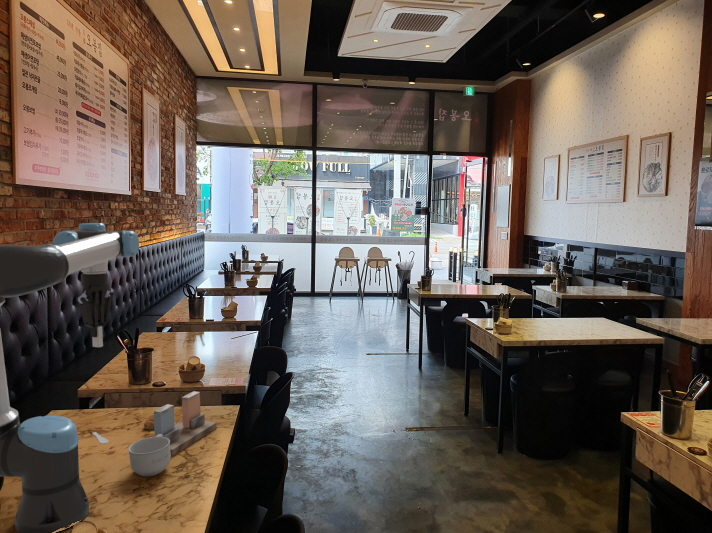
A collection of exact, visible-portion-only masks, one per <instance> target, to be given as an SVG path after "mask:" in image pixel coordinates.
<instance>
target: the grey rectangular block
mask: <svg viewBox="0 0 712 533" xmlns="http://www.w3.org/2000/svg"><path fill="white" fill-rule="evenodd" d="M153 415H154V429H153V430H154V436H155V437H156V436H157V435H158V434H162V435H163V436H164V435H166V434H168V433H169V432H171V431H173V430H175V427H174V424H175V405H174V404H169V403H168V404H165V405H162V406H161V407H159V408H157V409H155V410H153Z"/></svg>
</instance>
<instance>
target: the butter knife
mask: <svg viewBox="0 0 712 533" xmlns="http://www.w3.org/2000/svg"><path fill="white" fill-rule="evenodd" d="M92 435H94V437H95V438H96V440H97V442H98V443H99V444H101V445H105V444H108V443H109V442H110V441H109V440H108V439H107V438H105V437H103V436H101V435H100V434H99V433H98V432H96V431H94V432H93V431H92Z"/></svg>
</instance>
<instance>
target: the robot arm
mask: <svg viewBox="0 0 712 533" xmlns="http://www.w3.org/2000/svg"><path fill="white" fill-rule="evenodd" d="M139 250H140V239H139V236H138V234H137V233H136V232H135V231H132V230H124V229H123V230H106V225H105V224H104V223H103V222H102V223H101V222H100V223H99V222H95V223H94V222H89V223H87V222H86V223H83V222H82V223H80V224H79V225H78V229H77V230H75V229H74V230H69V229H67V230H64V231H60V232H58V233H56V234H55V236H54V238H53V240H52V244H51V243H45V244H44V243H43V244H39V245H21V244H20V245H19V244H18V245H17V244H16V245H15V244H0V307H2V306H3V304H4V303H5V302H6V298H15V297H19V296H24V295H27V294H31V293H35V292H38V291H40V290H44V289H46V288H49V287H52V286H55V285H57V284H60V283H61V282H63V281H64V280H65V279H66V278H67V277H68V276H69V275H73V274H75V273H77V272H82V273H81V274H80V280H81V282H80V283H81V285H82V287H83V290H82V294H81V295H80V296H76V297H75V301H76V302H77V303H78V306H79V309H80V312H81V317H82V321H83V324H84V327H85V326H86V327H89V328H90V337H91V339H92V348H102V347H104V341H103V340H104V338H103V337H104V330H105V328H104V327H105V326H107V323H109V321H110V315H111V308H112V300H113V298H114V295H115V293H114V291H110V290H109V289H108V287H107V285H108V284H109V274H108V272H107V271H109V269H108V261H110V260H114V259H116V258H120V257H122V258H123V257H124V258H128V257H134V256H136V255H137V254H138V252H139ZM2 339H3V338H2V331H1V329H0V478H1V477H2V478H3V477H4V478H5V477H6V478H7V477H8V478H20V479H21V488H22V493H21V496H20V497H21V498H20V499H19V500H20V501H19V504H18V509H17V511H16V513H15V516H14V527H15V531H16V532H17V533H52V532H54V531H56V530H58V529H60V528H63V527H66V526H68V525H71V524H72V523H75V522H77V521H80V520H82V521H83V520H84V519H86V517H87V516H88V514H89V513H90V501H89V498H88V496H87V493H86V491H85V488H84V486H83V484H82V482H81V479H80V463H79V437H78V431H77V425H76V424H75V422H74V421H73V420H71V419H70V418H68V417H66V416H61V415H44V416H41V415H39V416H35V417H31V418H27V419H26V420H24V421H23V422H20V415H19V411H18V410H17V409H15V408H13V407H11V406H10V405H11V404H10V397H9V388H8V381H7V380H8V379H7V373H6V372H7V371H6V365H5V356H4V347H3V341H2Z"/></svg>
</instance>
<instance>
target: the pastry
mask: <svg viewBox="0 0 712 533" xmlns="http://www.w3.org/2000/svg"><path fill="white" fill-rule="evenodd" d="M143 429H144V430H154V414H152V415H149V417H148V418H147V419H146V421H145V422H144V424H143Z"/></svg>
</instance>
